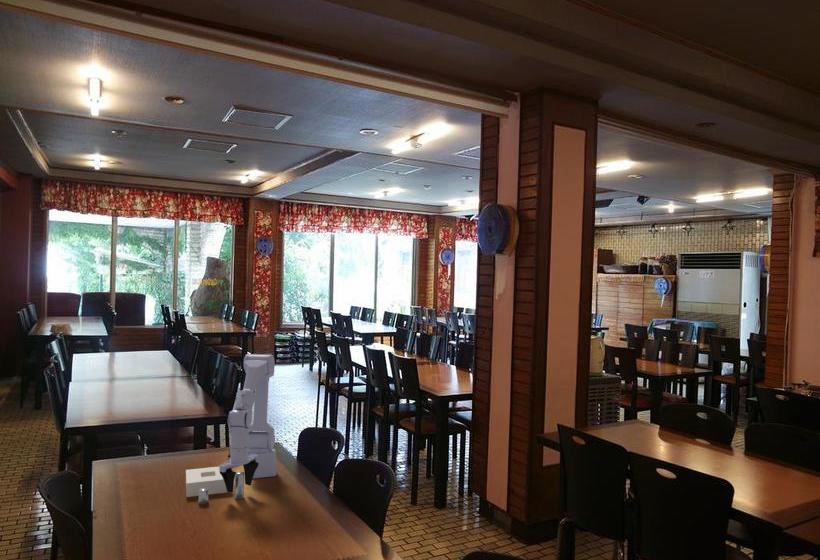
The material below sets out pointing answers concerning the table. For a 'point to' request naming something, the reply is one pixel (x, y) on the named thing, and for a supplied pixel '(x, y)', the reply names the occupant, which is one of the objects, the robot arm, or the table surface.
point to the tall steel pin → (239, 485)
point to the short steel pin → (203, 495)
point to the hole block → (204, 481)
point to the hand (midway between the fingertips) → (239, 488)
